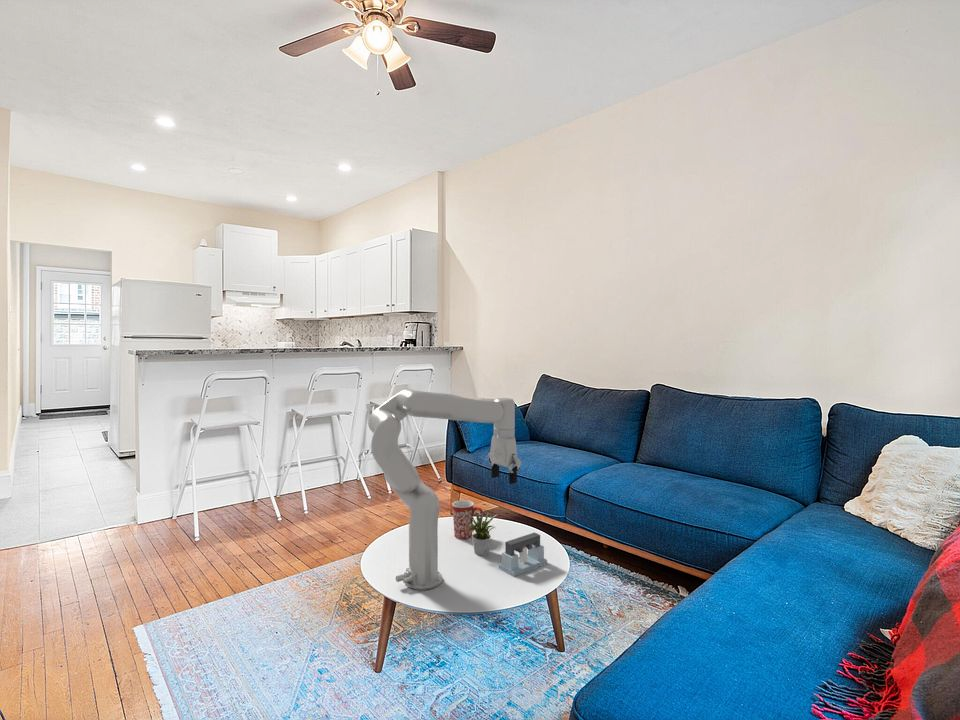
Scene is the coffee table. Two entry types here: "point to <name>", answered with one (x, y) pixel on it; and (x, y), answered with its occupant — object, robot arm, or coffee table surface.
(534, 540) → the dark grey bar
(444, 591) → the coffee table surface
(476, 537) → the house plant
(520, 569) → the display stand
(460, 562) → the coffee table surface
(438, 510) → the robot arm
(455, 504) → the mug
